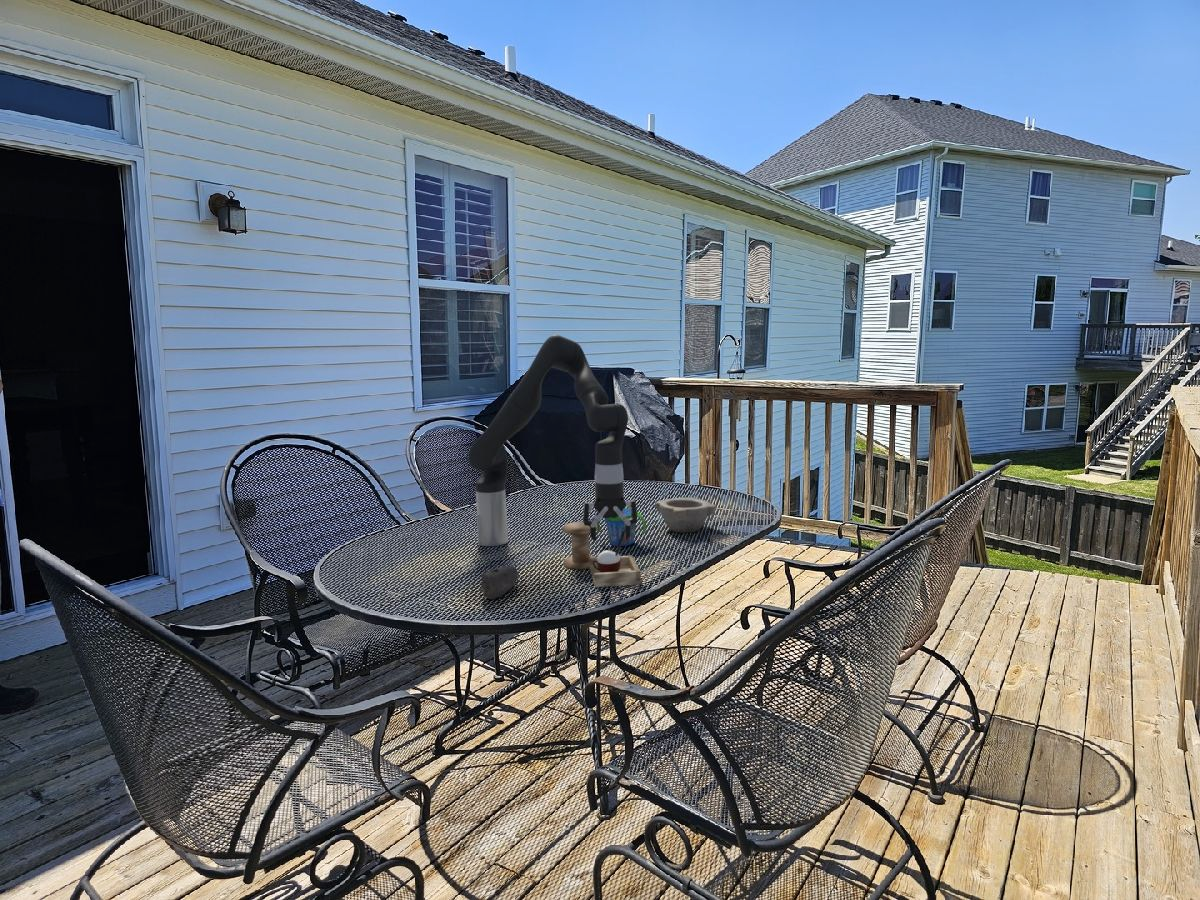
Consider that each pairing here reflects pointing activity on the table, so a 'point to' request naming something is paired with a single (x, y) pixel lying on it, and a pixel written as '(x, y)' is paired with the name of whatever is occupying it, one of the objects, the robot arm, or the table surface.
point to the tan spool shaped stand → (578, 545)
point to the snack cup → (621, 528)
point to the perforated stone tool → (498, 581)
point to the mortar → (685, 513)
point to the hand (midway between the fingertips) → (610, 539)
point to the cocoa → (609, 559)
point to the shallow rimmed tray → (617, 573)
